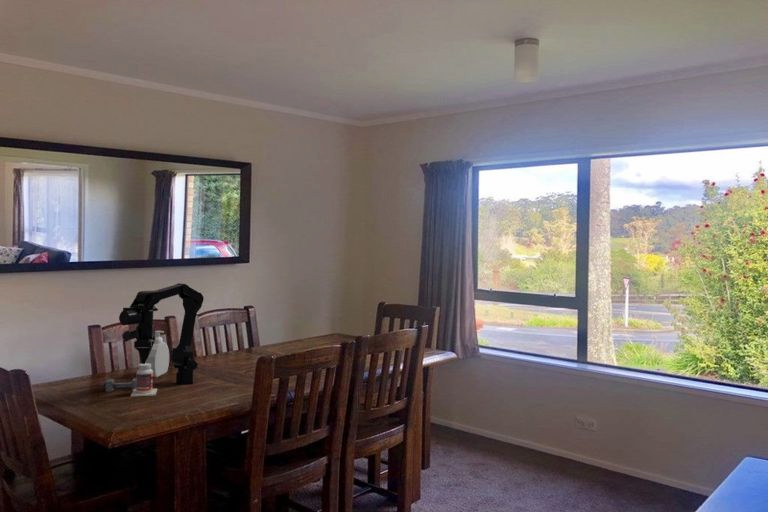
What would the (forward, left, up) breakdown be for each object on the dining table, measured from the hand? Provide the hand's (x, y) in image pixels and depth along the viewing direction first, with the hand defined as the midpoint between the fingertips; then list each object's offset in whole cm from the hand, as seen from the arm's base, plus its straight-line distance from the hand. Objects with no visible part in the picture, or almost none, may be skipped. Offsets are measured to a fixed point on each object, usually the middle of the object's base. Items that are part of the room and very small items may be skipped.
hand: (144, 361), depth 240 cm
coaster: (0, 0, -13) cm, 13 cm away
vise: (+10, -9, -13) cm, 19 cm away
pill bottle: (0, 0, -12) cm, 12 cm away
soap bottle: (-2, -34, -13) cm, 36 cm away
